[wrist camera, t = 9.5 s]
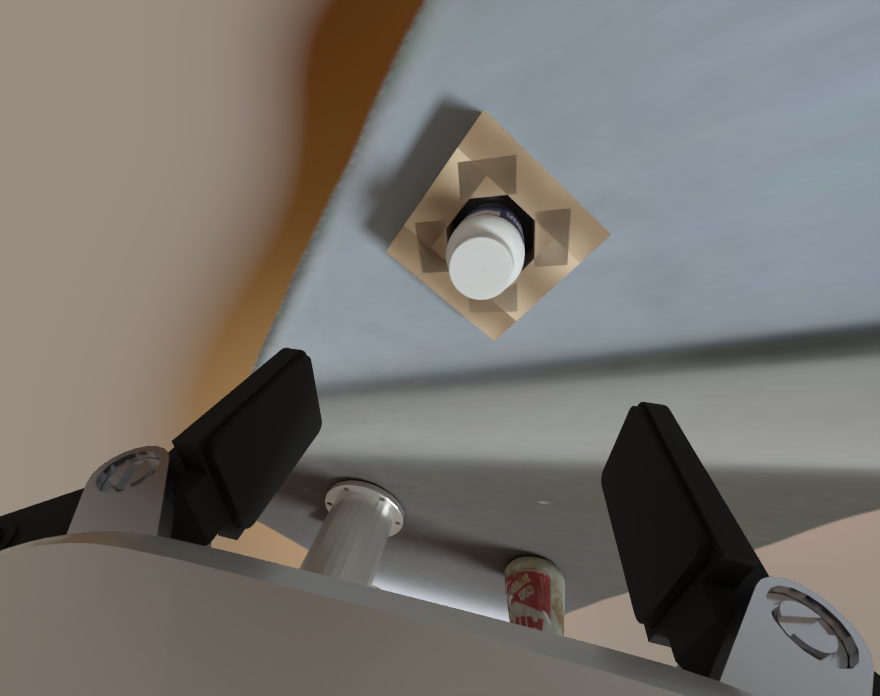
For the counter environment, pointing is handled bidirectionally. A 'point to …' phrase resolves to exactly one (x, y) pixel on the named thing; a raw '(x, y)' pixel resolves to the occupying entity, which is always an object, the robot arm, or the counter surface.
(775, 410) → the counter surface
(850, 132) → the counter surface
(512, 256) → the pill bottle
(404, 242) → the collar
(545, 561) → the bottle
